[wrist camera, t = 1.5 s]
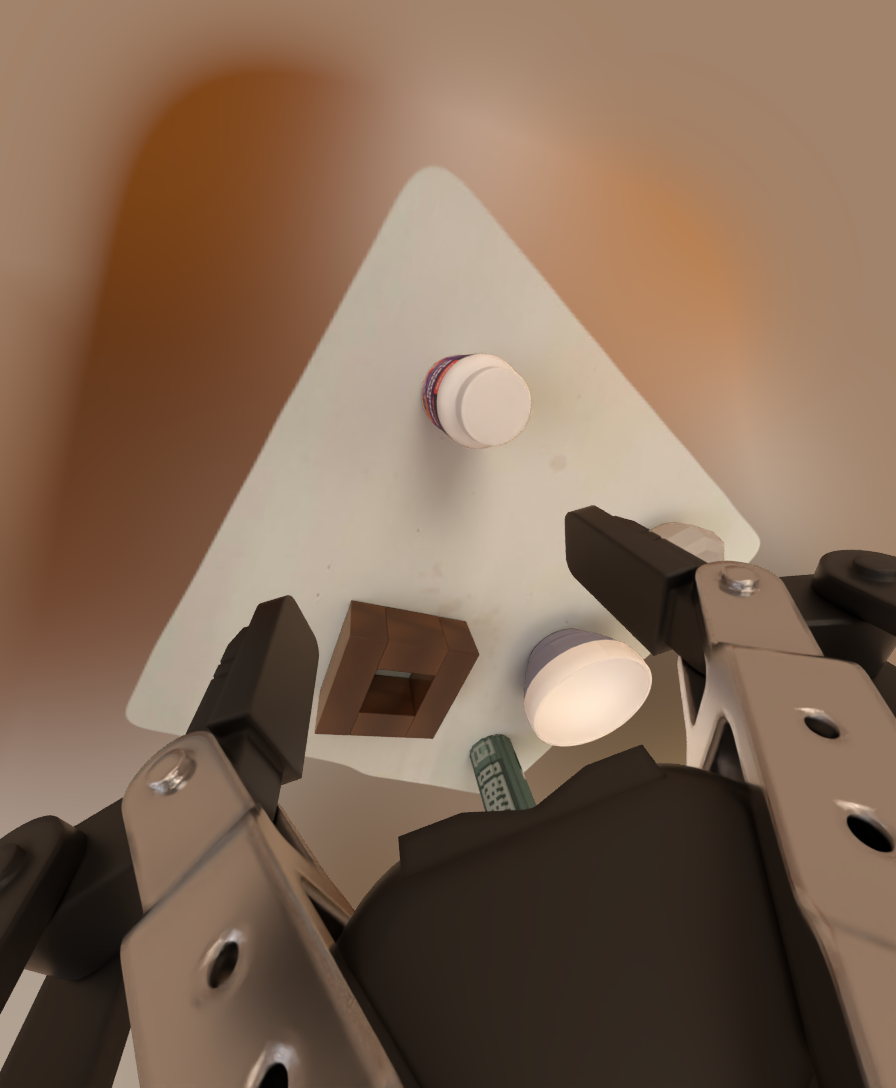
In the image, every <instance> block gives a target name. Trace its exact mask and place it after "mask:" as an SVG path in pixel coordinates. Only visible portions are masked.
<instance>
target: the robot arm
mask: <svg viewBox="0 0 896 1088" xmlns="http://www.w3.org/2000/svg"><path fill="white" fill-rule="evenodd" d="M565 544H566V561H567V565H568V568H569V570H570V572H571V573H572V575H573V576H574V577H575V578H576V579H577V580H578V581H579V582H580V583H581V584H582V585H583V586H584V587H585V588H586V589H587V590H588V591H589V592H590V593H591V594H592V595H593V596H594V597H595V598H596V599H597V600H598V601H599V602H600V603H601V604H602V605H603V606H604V607H605V608H606V609H607V610H608V611H609V612H610V613H611V614H612V615H613V616H614V617H615V618H616V619H617V620H618V621H619V622H620V623H621V624H622V625H623V626H624V627H625V628H626V629H627V630H628V631H629V632H630V633H631V634H632V635H633V636H634V637H635V638H636V639H637V640H638V641H639V642H640V643H641V644H642V645H643V646H644V647H645V648H646V649H647V650H648V651H649V652H650V653H651V654H652V655H654V656H655V655H658V654H661V653H663V652H666V651H669V650H672V649H673V650H674V651H675V652H676V653H677V654H678V655H679V658H678V673H679V681H680V688H681V696H682V703H683V711H684V718H685V726H686V733H687V754H686V765H680V764H671V763H655V761H654V760H653V758H652V757H651V756H650V755H649V753H648V752H647V750H646V749H645V748H644V746H643V745H639V746H637V747H634V748H631V749H628V750H626V751H623V752H621V753H618V754H615V755H613V756H610V757H608V758H605V759H602V760H600V761H597V762H594V763H592V764H589V765H587V766H585V767H583V768H582V769H581V770H580V771H579V772H577V773H576V774H575V775H574V776H572V777H571V778H570V779H569V780H567V781H566V782H565V783H564V784H563V785H561V786H560V787H559V788H558V789H557V790H555V791H554V792H553V793H552V794H550V795H549V796H548V797H547V798H545V799H544V800H543V801H542V802H540V803H539V804H538V805H536V806H535V807H533V808H530V809H522V810H503V811H485V812H467V813H460V814H457V815H454V816H452V817H449V818H447V819H444V820H441V821H439V822H436V823H433V824H431V825H428V826H425V827H423V828H420V829H418V830H415V831H412V832H410V833H407V834H405V835H402V836H399V837H398V839H399V851H400V861H399V862H398V863H396V864H395V865H394V866H392V867H391V868H390V869H389V870H388V871H387V872H386V873H385V874H384V875H383V876H382V877H381V878H380V879H379V880H378V881H377V882H376V883H375V885H374V886H373V887H372V888H371V890H370V891H369V892H368V893H367V894H366V896H365V897H364V898H363V900H362V901H361V902H360V904H359V905H358V907H357V909H356V910H355V911H354V909H353V908H352V907H351V905H350V904H349V902H348V901H347V900H346V898H345V897H344V896H343V895H342V893H341V892H340V891H339V890H338V889H337V887H336V886H335V885H334V884H333V882H332V881H331V880H330V879H329V877H328V876H327V874H326V873H325V872H324V870H323V868H322V867H321V866H320V864H319V862H318V861H317V859H316V858H315V856H314V855H313V853H312V852H311V850H310V849H309V847H308V846H307V844H306V843H305V841H304V840H303V838H302V837H301V835H300V834H299V832H298V831H297V829H296V827H295V826H294V824H293V823H292V821H291V820H290V818H289V817H288V815H287V814H286V812H285V811H284V809H283V808H282V807H281V806H280V804H279V803H278V798H279V793H280V788H281V785H283V784H286V783H289V782H292V781H295V780H298V779H300V778H302V771H303V764H304V757H305V750H306V743H307V736H308V729H309V722H310V715H311V708H312V702H313V695H314V688H315V681H316V674H317V667H318V660H319V650H318V644H317V641H316V638H315V636H314V634H313V632H312V630H311V628H310V626H309V625H308V623H307V621H306V619H305V617H304V616H303V614H302V612H301V610H300V608H299V607H298V605H297V603H296V601H295V600H294V598H293V597H292V596H290V595H287V596H283V597H280V598H277V599H273V600H270V601H267V602H263V603H260V604H259V605H258V606H257V608H256V610H255V613H254V615H253V617H252V620H251V622H250V624H249V626H248V627H244V628H243V629H242V630H241V631H240V632H239V633H238V634H237V635H236V637H235V638H234V639H233V640H232V641H231V642H230V643H229V644H228V646H227V648H226V650H225V653H224V655H223V657H222V659H221V661H220V662H221V664H220V665H218V667H217V669H216V671H215V674H214V679H212V680H211V682H210V684H209V686H208V688H207V690H206V692H205V695H204V697H203V699H202V701H201V703H200V705H199V707H198V709H197V711H196V714H195V716H194V718H193V720H192V722H191V724H190V726H189V728H188V730H187V732H186V735H183V736H181V737H179V738H177V739H176V740H174V741H172V742H170V743H169V744H167V745H166V746H165V747H163V748H162V749H161V750H159V751H158V752H157V753H156V754H155V755H154V756H152V757H151V758H150V760H148V761H147V762H146V764H144V766H143V767H142V768H141V769H140V770H139V771H138V773H137V774H136V775H135V777H134V778H133V780H132V781H131V783H130V784H129V786H128V788H127V790H126V792H125V795H124V797H123V798H121V799H120V800H118V801H116V802H114V803H113V804H111V805H109V806H108V807H106V808H104V809H103V810H101V811H99V812H98V813H96V814H94V815H93V816H91V817H89V818H88V819H86V820H84V821H83V822H81V823H80V824H78V825H76V826H74V827H73V826H72V825H70V824H68V823H66V822H65V821H63V820H61V819H59V818H58V817H56V816H51V815H49V816H43V817H39V818H36V819H34V820H31V821H29V822H27V823H25V824H23V825H21V826H20V827H18V828H16V829H15V830H13V831H11V832H10V833H8V834H7V835H5V836H4V837H3V838H1V839H0V1014H1V1012H2V1010H3V1008H4V1006H5V1004H6V1002H7V1000H8V999H9V997H10V995H11V993H12V991H13V989H14V987H15V985H16V983H17V981H18V979H19V977H20V976H21V974H22V972H23V970H24V969H27V970H30V971H34V972H37V973H41V974H45V975H47V976H46V978H45V980H44V982H43V984H42V986H41V988H40V990H39V992H38V995H37V997H36V999H35V1001H34V1003H33V1005H32V1007H31V1009H30V1011H29V1013H28V1015H27V1018H26V1019H25V1022H24V1024H23V1026H22V1028H21V1030H20V1032H19V1034H18V1036H17V1038H16V1040H15V1042H14V1045H13V1046H12V1049H11V1051H10V1053H9V1055H8V1057H7V1059H6V1061H5V1063H4V1065H3V1067H2V1070H1V1071H0V1088H112V1085H113V1082H114V1078H115V1075H116V1072H117V1069H118V1066H119V1063H120V1060H121V1056H122V1053H123V1050H124V1047H125V1044H126V1041H127V1037H128V1034H129V1031H130V1028H131V1031H132V1038H133V1044H134V1051H135V1057H136V1063H137V1070H138V1077H139V1083H140V1088H896V666H894V665H892V664H890V663H889V662H887V659H888V658H889V656H890V655H891V653H892V652H893V650H894V649H895V647H896V557H895V556H891V555H887V554H883V553H877V552H871V551H863V550H840V551H834V552H830V553H827V554H825V555H824V556H822V558H821V559H820V561H819V564H818V566H817V569H816V571H815V573H814V574H813V575H799V576H786V577H777V576H776V575H775V574H773V573H771V572H770V571H768V570H766V569H763V568H761V567H758V566H755V565H752V564H748V563H743V562H736V561H715V562H710V563H707V562H705V561H704V560H702V559H700V558H698V557H697V556H695V555H693V554H691V553H689V552H688V551H686V550H684V549H682V548H681V547H679V546H677V545H675V544H674V543H672V542H670V541H668V540H667V539H665V538H663V539H662V538H661V536H659V535H658V534H656V533H654V532H652V531H650V532H649V529H647V528H645V527H644V526H642V525H640V524H638V523H637V522H635V521H632V520H628V519H624V518H621V517H617V516H612V515H610V514H608V513H607V512H605V511H603V510H602V509H600V508H598V507H596V506H593V505H592V506H588V507H585V508H582V509H578V510H575V511H571V512H568V513H567V514H566V516H565Z"/></svg>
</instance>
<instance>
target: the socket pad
mask: <svg viewBox="0 0 896 1088" xmlns="http://www.w3.org/2000/svg"><path fill="white" fill-rule="evenodd" d="M478 656H479V652H478V650H477V647H476V645H475V642H474V640H473V638H472V635H471V633H470V630H469V628H468V625H467V623H466V622H465V621H459V620H454V619H449V618H443V617H438V616H433V615H428V614H422V613H417V612H412V611H406V610H401V609H395V608H390V607H384V606H379V605H373V604H368V603H362V602H357V601H351V603H350V606H349V609H348V612H347V615H346V618H345V621H344V623H343V626H342V629H341V632H340V635H339V638H338V641H337V644H336V647H335V650H334V652H333V655H332V658H331V661H330V664H329V667H328V670H327V673H326V676H325V679H324V681H323V684H322V687H321V690H320V695H319V703H318V711H317V719H316V727H315V734H332V735H356V736H381V737H405V738H430V739H433V738H434V736H435V734H436V732H437V731H438V729H439V727H440V725H441V723H442V722H443V720H444V718H445V716H446V714H447V713H448V711H449V709H450V707H451V705H452V703H453V702H454V700H455V698H456V696H457V694H458V693H459V691H460V689H461V687H462V685H463V684H464V682H465V680H466V678H467V676H468V674H469V673H470V671H471V669H472V667H473V665H474V664H475V662H476V660H477V658H478ZM377 669H383V670H392V671H400V672H409V673H412V674H411V676H410V678H409V679H408V678H398V677H389V676H380V675H375V672H376V670H377Z"/></svg>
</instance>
